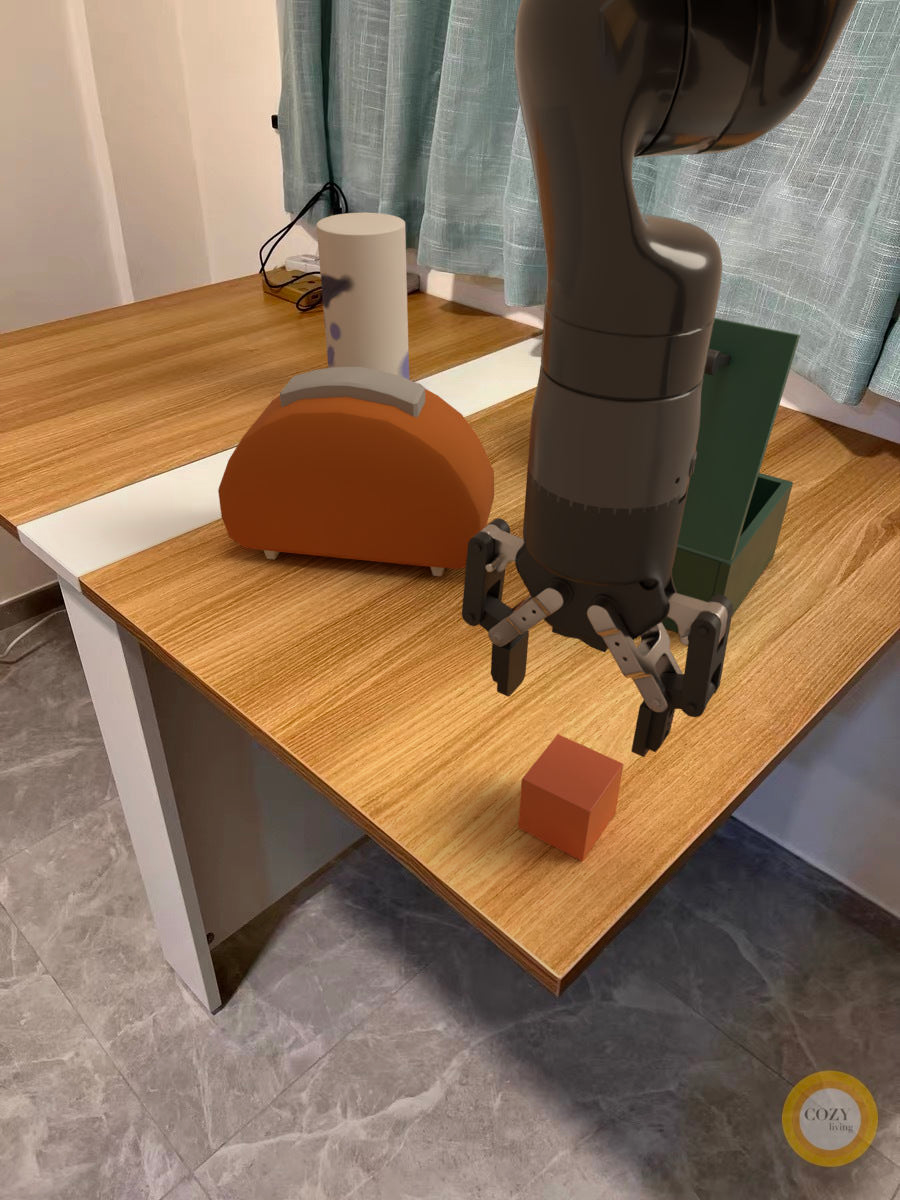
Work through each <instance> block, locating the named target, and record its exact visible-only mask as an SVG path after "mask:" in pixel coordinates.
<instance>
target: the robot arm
mask: <svg viewBox="0 0 900 1200" xmlns="http://www.w3.org/2000/svg"><path fill="white" fill-rule="evenodd" d="M858 2H859V0H520V4H519V7H518V11H517V15H516V21H515V22H516V23H515V27H514V37H513V60H514V62H513V63H514V74H515V81H516V82H515V83H516V88H517V96H518V97H517V98H518V102H519V107H520V112H521V117H522V123H523V127H524V132H525V136H526V141H527V146H528V150H529V154H530V159H531V165H532V171H533V176H534V181H535V187H536V194H537V195H536V196H537V201H538V202H537V203H538V208H539V216H540V224H541V230H542V231H541V232H542V238H543V246H544V254H545V266H546V289H545V301H544V302H545V304H544V310H543V311H544V313H543V324H542V325H543V326H542V338H541V340H542V341H541V351H540V352H541V353H540V366H539V373H538V379H537V380H538V381H537V385H536V390H535V394H534V398H533V403H532V408H531V415H530V425H529V426H530V427H529V439H528V441H529V442H528V454H527V455H528V456H527V469H526V481H525V495H524V497H525V498H524V510H523V511H524V513H523V523H522V524H523V525H522V527H523V528H522V538H521V537H519V536H517V535H514V534H512V533H511V528H510V526H509V524H508V522H507V521H506V520H505V519H503V518H499V517H497V518H494V519H493V520H492V521H491V522H488V523H487V526H486V527H484V528H483V529H482V530H481V531H480V532H478V533H477V534H476V535H475V536H474V537H472V538H471V539H470V540H469V542H468V550H467V561H466V566H465V573H464V583H463V584H464V585H463V594H462V595H463V596H462V605H461V606H462V607H461V617H462V620H463V621H464V623H466V624H467V626H468V625H469V626H470V627H477V626H480V627H481V628H483V629H484V630H485V631H487V635H488V638H489V641H490V642H491V659H490V660H491V661H490V665H491V666H490V675H491V679H492V681H493V682H494V683H496V692H497V693H498V694H500V695H503V696H504V697H507V698H509V697H511V696H512V695H513V693H514V692H515V691H516V690H517V689H518V688H519V687H520V686H521V684H522V683H524V680H525V677H526V672H527V661H528V649H529V637H530V631H529V630H531V629H532V628H533V627H535V626H536V625H537V624H539V623H540V622H542V621H545V622H546V624H548V626H550V627H551V632H552V633H554V634H557V635H559V636H561V637H564V638H570V639H577V640H579V641H581V642H582V643H584V644H585V645H587V646H589V647H590V648H592V649H595V650H597V651H599V652H602V653H606V652H607V651H608V650H609V652H610V654H611V655H612V658H613V659H614V661H615V663H616V665H617V666H618V668H619V670H620V672H621V674H622V675H623V677H624V678H626V679H631V680H632V682H633V683H634V684H635V686H636V688H637V690H638V692H639V694H640V696H641V698H642V699H643V700H642V702H641V704H639V707H638V714H637V718H636V725H635V729H634V734H633V739H632V745H631V753H633V754H636V755H638V756H640V757H642V758H645V757H646V756H647V754H648V752H649V751H651V752H653V753H656V752H657V751H658V750H659V749H660V748H661V747H662V745H663V744H664V742H665V740H666V739H667V738H668V736H669V734H670V733H671V729H672V724H673V720H674V716H675V712H676V710H681V711H682V712H683V713H684V714H685V715H686V716H688V717H691V718H699V717H701V716H702V715H703V714H704V712H705V710H706V709H707V707H708V706H707V705H708V704H709V702H710V700H711V699H712V697H713V696H714V695H715V694H716V693H717V691H718V689H719V688H720V686H721V681H722V674H723V669H724V663H725V658H726V653H727V652H726V651H727V646H728V645H727V644H728V641H729V635H730V629H731V623H732V618H733V616H732V612H733V604H732V602H731V600H730V599H729V598H727V597H726V596H724V595H714V596H712V597H711V598H710V599H709V601H708V602H706V601H702V600H699V599H696V598H692V597H689V596H685V595H682V594H679V593H677V591H676V588H675V585H674V583H673V579H672V568H673V563H674V559H675V554H676V549H677V543H678V538H679V533H680V528H681V523H682V518H683V512H684V507H685V502H686V497H687V492H688V487H689V482H690V477H691V475H692V474H693V472H694V468H695V463H696V458H697V452H696V446H697V441H698V435H699V428H700V414H701V391H702V384H703V377H704V372H705V367H706V362H707V357H708V351H709V346H710V341H711V336H712V330H713V325H714V320H715V318H716V313H717V307H718V302H719V297H720V292H721V284H722V277H723V259H722V252H721V249H720V246H719V244H718V242H717V241H716V239H715V238H714V237H713V236H712V235H711V234H710V233H708V231H706V230H705V229H704V228H701V227H699V226H698V225H695V224H693V223H691V222H687V221H684V220H681V219H677V218H675V217H674V218H671V217H668V216H664V215H663V216H662V215H657V214H651V213H646V212H641V211H640V207H639V203H638V201H637V196H636V191H635V187H634V183H633V182H634V181H633V164H634V159H641V158H655V157H657V158H658V157H672V156H687V155H688V156H689V155H690V156H692V155H693V156H694V155H710V154H712V155H713V154H720V153H726V152H730V151H735V150H739V149H740V148H744V147H745V146H748V145H750V144H752V143H753V142H755V141H757V140H759V139H761V138H763V137H764V136H765V135H766V134H768V133H770V132H771V131H773V130H774V129H775V128H777V127H778V126H779V125H781V124H782V123H783V122H784V121H786V120H787V118H788V117H790V116H791V115H792V114H793V113H794V112H795V111H796V110H797V108H798V107H800V105H802V103H803V102H804V100H805V99H806V98H807V96H808V95H809V94H810V92H811V91H812V89H813V88H814V86H815V84H816V83H817V81H818V79H819V78H820V76H821V74H822V72H823V70H824V68H825V66H826V64H827V62H828V61H829V59H830V56H831V55H832V52H833V50H834V49H835V47H836V45H837V42H838V40H839V38H840V36H841V35H842V33H843V31H844V29H845V27H846V25H847V23H848V21H849V19H850V17H851V15H852V13H853V11H854V9H855V7H856V5H857V4H858ZM513 562H514V563H515V568H516V571H517V573H518V575H519V577H520V579H521V580H522V582H523V584H524V586H525V588H526V590H527V591H528V593H529V594H528V595H527V596H526V597H524V598H523V599H521V600H520V601H519V602H517V604H515V605H513V607H510V606H509V605H507V604H506V603H505V602H504V601H503V593H504V585H505V578H506V577H505V575H506V569H507V568H508V567H510V565H511V564H513ZM666 617H669V618H671V619H672V620H673V621H674V622H675V623H676V624H677V626H678V636H679V637H680V638H679V642H680V644H681V645H682V646H685V647H686V646H687V650H686V651H687V652H686V658H685V667H684V672H683V671H682V669H681V667H680V665H679V664H678V662H677V660H676V658H675V656H674V655H673V653H672V651H671V638H670V635H669V633H668V631H667V629H666V628H665V627H664V626H663V624H662V621H663V620H664V619H665V618H666ZM731 617H732V618H731ZM639 637H640V641H639V644H638V645H637V644H636V643H635V642H634V640H636V639H638V638H639Z"/></svg>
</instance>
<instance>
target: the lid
mask: <svg viewBox="0 0 900 1200" xmlns="http://www.w3.org/2000/svg"><path fill="white" fill-rule="evenodd" d="M800 337H801V334H799V333H793V332H789V331H783V330H780V329H779V330H778V329H773V328H768V327H762V326H758V325H753V324H749V323H744V322H743V323H742V322H737V321H733V320H728V319H724V318H723V319H722V318H718V317H715V320H714V325H713V330H712V336H711V341H710V346H709V351H708V357H707V362H706V367H705V372H704V377H703V384H702V391H701V414H700V428H699V435H698V441H697V446H696V452H697V458H696V463H695V468H694V472H693V474H692V475H691V477H690V482H689V487H688V492H687V497H686V502H685V507H684V512H683V518H682V523H681V528H680V533H679V538H678V543H677V544H679V545H682V546H685V547H689V548H692V549H695V550H698V551H701V552H704V553H707V554H710V555H713V556H716V557H719V558H722V559H726V560H729V561H731V560H732V559H733V558H734V555H735V552H736V548H737V545H738V542H739V538H740V535H741V532H742V528H743V525H744V522H745V518H746V515H747V512H748V508H749V505H750V502H751V498H752V495H753V492H754V488H755V485H756V481H757V478H758V475H759V473H760V471H761V467H762V464H763V461H764V459H765V454H766V452H767V448H768V444H769V442H770V438H771V434H772V430H773V428H774V425H775V422H776V418H777V416H778V415H777V414H778V411H779V409H780V404H781V401H782V398H783V394H784V391H785V388H786V384H787V382H788V378H789V374H790V371H791V368H792V364H793V360H794V359H795V358H794V357H795V354H796V351H797V348H798V344H799V341H800Z"/></svg>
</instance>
